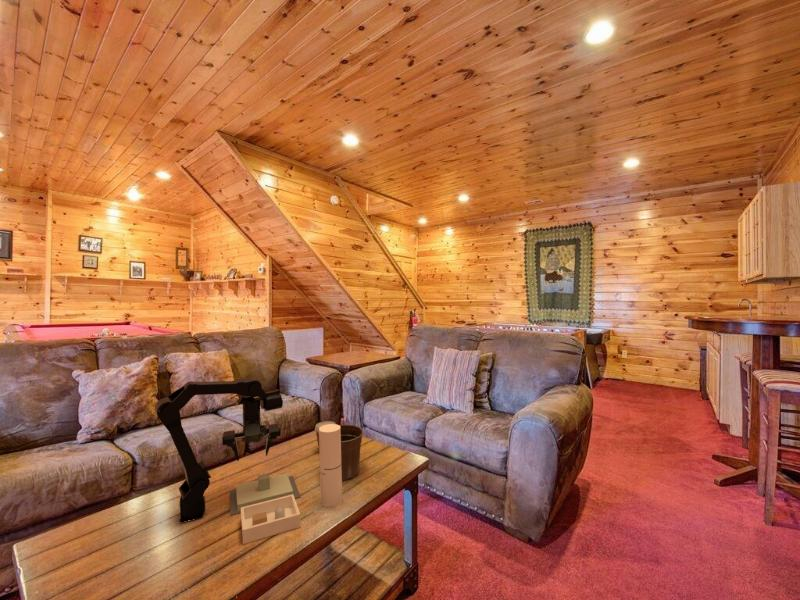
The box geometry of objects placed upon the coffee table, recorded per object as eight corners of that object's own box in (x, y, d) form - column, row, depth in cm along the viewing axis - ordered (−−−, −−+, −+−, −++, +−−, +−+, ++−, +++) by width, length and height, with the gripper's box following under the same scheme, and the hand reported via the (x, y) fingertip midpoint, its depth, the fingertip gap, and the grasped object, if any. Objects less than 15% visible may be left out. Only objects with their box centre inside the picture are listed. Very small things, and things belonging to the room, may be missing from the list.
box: (242, 544, 103) (242, 530, 103) (241, 520, 114) (240, 507, 114) (300, 527, 110) (300, 514, 110) (293, 506, 121) (293, 494, 121)
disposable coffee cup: (339, 447, 166) (339, 420, 165) (334, 456, 156) (333, 429, 156) (319, 446, 167) (318, 420, 166) (312, 456, 157) (311, 428, 157)
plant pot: (361, 484, 134) (360, 441, 133) (317, 484, 134) (316, 441, 133) (366, 463, 150) (365, 424, 149) (327, 463, 150) (326, 424, 150)
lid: (237, 511, 119) (236, 492, 118) (236, 490, 131) (235, 473, 131) (293, 496, 126) (292, 479, 126) (287, 478, 138) (286, 462, 138)
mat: (230, 515, 117) (230, 514, 117) (229, 491, 131) (229, 490, 131) (300, 497, 126) (300, 496, 126) (292, 476, 140) (292, 475, 140)
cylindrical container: (337, 508, 119) (335, 432, 119) (317, 506, 121) (315, 431, 120) (345, 496, 126) (343, 424, 126) (325, 494, 128) (324, 423, 127)
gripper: (221, 426, 117) (222, 474, 117) (282, 417, 125) (282, 462, 125) (222, 415, 127) (223, 459, 128) (278, 407, 135) (279, 449, 135)
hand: (252, 457), depth 129 cm, fingers open, 9 cm apart
